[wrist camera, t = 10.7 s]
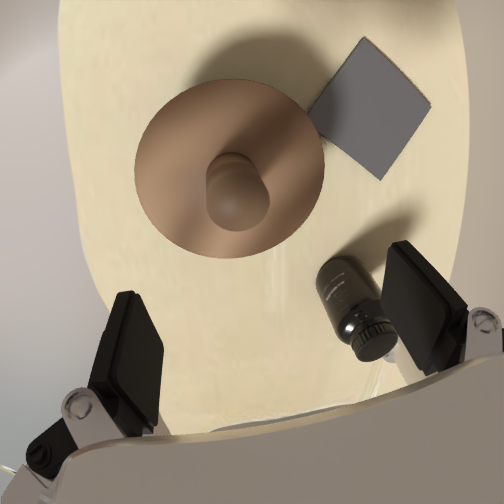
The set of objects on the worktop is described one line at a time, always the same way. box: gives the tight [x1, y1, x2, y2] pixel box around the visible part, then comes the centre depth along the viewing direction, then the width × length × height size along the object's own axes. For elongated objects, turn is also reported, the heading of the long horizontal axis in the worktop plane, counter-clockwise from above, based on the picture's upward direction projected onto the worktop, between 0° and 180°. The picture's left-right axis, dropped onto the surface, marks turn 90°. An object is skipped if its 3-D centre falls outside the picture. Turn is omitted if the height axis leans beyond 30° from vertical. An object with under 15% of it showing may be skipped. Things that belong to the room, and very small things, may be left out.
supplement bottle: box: [316, 256, 398, 362], centre depth 32 cm, size 7×7×12 cm
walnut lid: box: [134, 79, 325, 258], centre depth 19 cm, size 14×14×6 cm
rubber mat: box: [307, 38, 431, 181], centre depth 26 cm, size 11×11×1 cm
